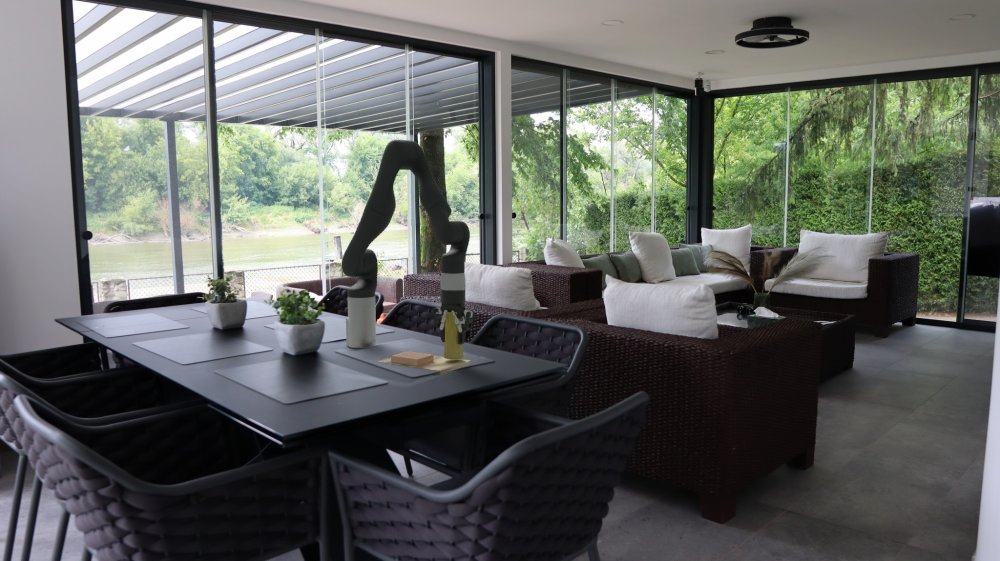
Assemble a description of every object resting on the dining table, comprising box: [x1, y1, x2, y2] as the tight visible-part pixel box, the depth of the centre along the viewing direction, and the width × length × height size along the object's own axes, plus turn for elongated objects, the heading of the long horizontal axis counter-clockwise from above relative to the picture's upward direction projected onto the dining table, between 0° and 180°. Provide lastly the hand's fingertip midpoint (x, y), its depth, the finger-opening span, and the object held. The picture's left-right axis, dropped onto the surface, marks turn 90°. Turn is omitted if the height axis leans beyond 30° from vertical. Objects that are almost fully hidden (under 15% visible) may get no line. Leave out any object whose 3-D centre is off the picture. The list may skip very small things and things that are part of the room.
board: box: [375, 355, 472, 376], centre depth 221 cm, size 24×16×1 cm, turn 59°
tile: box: [390, 350, 435, 366], centre depth 220 cm, size 2×8×10 cm
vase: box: [442, 312, 464, 359], centre depth 221 cm, size 6×6×14 cm
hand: (453, 342), depth 221 cm, fingers closed on vase, 5 cm apart
